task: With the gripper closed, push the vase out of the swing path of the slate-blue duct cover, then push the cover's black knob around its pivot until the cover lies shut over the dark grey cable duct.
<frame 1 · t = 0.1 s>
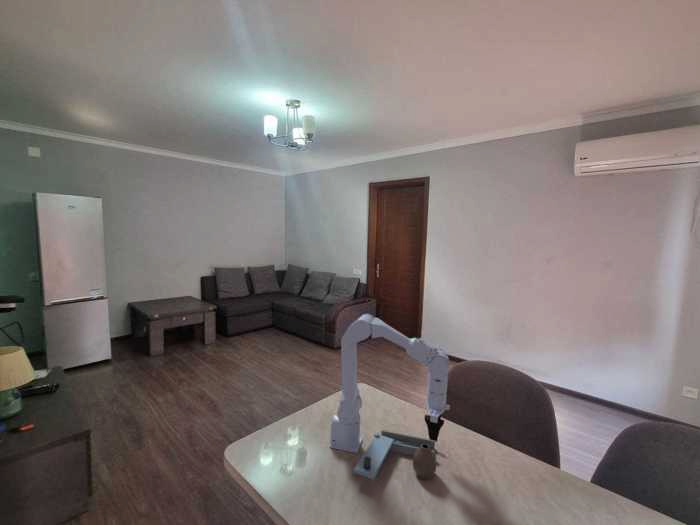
hand: (434, 432, 98), 10 cm above the table, fingers open, 7 cm apart
vase: (423, 474, 94), on the table
cover: (374, 450, 96), point 5 cm above the table, hinge at -100.0°
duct: (406, 448, 105), on the table
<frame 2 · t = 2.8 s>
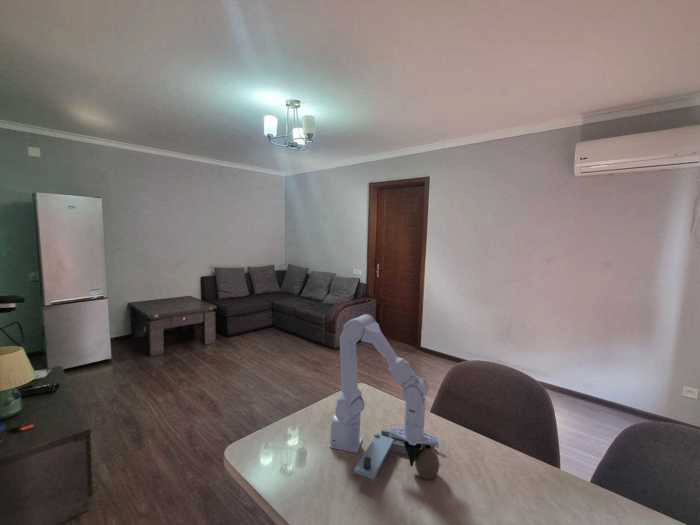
hand: (411, 463, 95), 2 cm above the table, fingers closed
vase: (426, 475, 94), on the table, touching gripper
everything else where it was.
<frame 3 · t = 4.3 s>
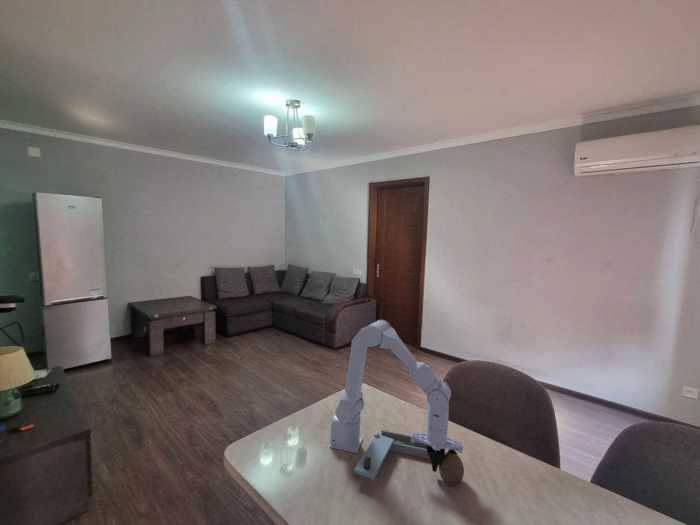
hand: (434, 469, 93), 2 cm above the table, fingers closed
vase: (450, 480, 92), on the table, touching gripper
everything else where it was.
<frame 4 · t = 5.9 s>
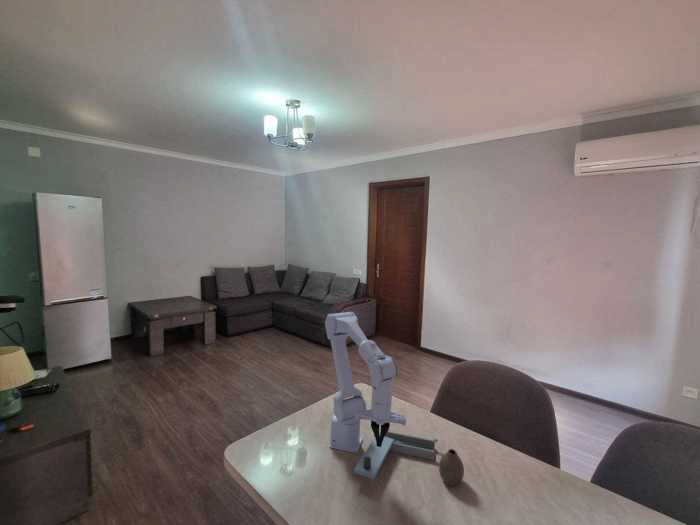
hand: (379, 444, 92), 9 cm above the table, fingers closed
vase: (450, 481, 92), on the table
everything else where it was.
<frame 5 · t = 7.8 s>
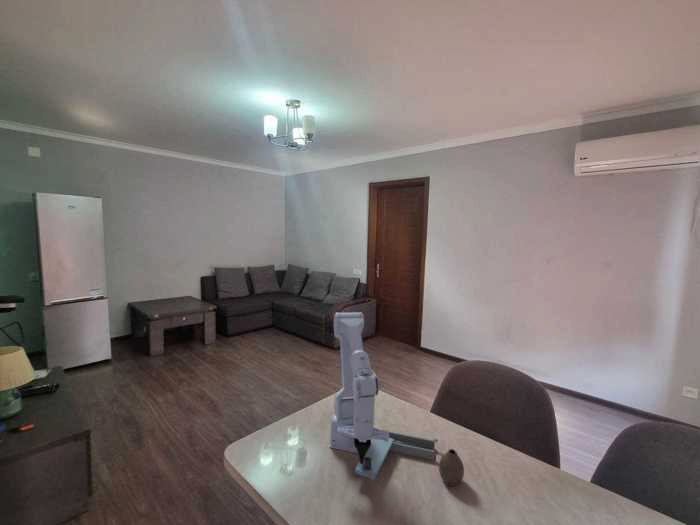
hand: (361, 461, 91), 5 cm above the table, fingers closed
cover: (374, 450, 96), point 5 cm above the table, hinge at -99.4°, touching gripper
everything else where it was.
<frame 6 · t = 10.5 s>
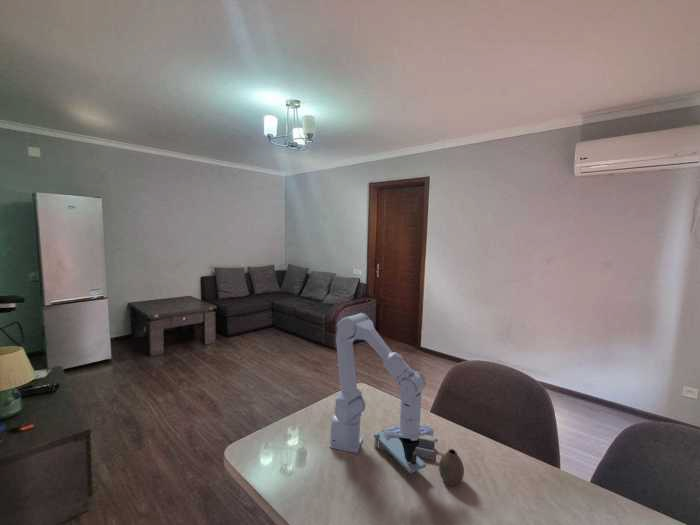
hand: (407, 459, 92), 5 cm above the table, fingers closed
cover: (397, 446, 99), point 5 cm above the table, hinge at -45.2°, touching gripper
everything else where it was.
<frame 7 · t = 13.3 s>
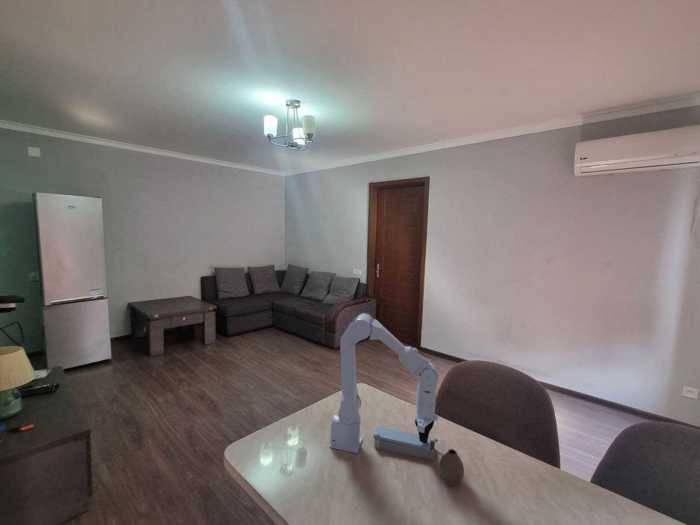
hand: (423, 441, 101), 5 cm above the table, fingers closed
cover: (402, 434, 105), point 5 cm above the table, hinge at -0.8°, touching gripper
everything else where it was.
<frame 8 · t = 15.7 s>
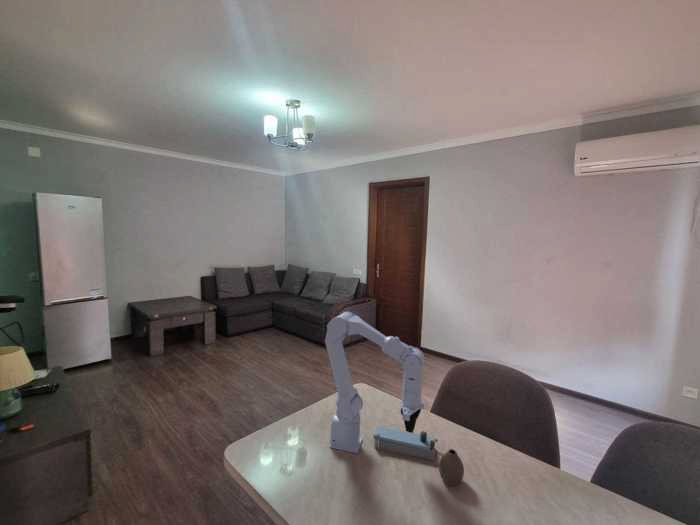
hand: (409, 431, 98), 10 cm above the table, fingers closed
cover: (402, 434, 105), point 5 cm above the table, hinge at -0.8°
everything else where it was.
at the end: cover at -1° (first picture: -100°); vase moved 7.6 cm from its start; vase tilted 0° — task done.
